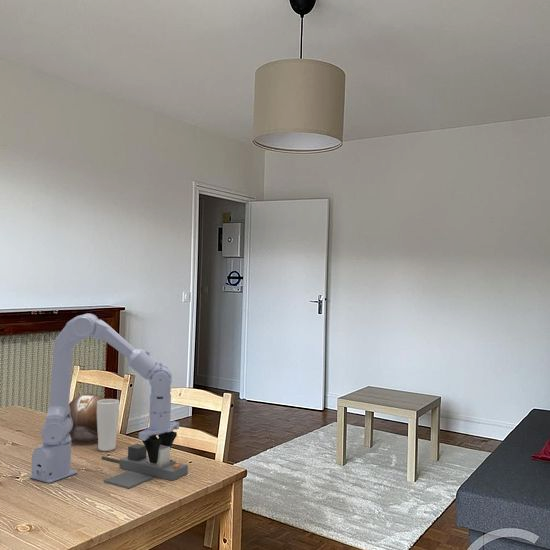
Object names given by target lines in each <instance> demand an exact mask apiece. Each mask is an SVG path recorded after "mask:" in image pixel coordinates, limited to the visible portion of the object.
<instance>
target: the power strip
mask: <svg viewBox="0 0 550 550" xmlns="http://www.w3.org/2000/svg"><path fill="white" fill-rule="evenodd" d="M101 459H102V460H105V461H108V462H113V463H116V464H118V465H119V466H118V467H119V469H122V470H126V471H132V472H136V473H140V474H144V475H148V476H152V477H153V478H154V477H155V478H158V479H163V480H168V481H172V482H173V481H175V480H177V479H180V478H182V477H184V476H185V475H188V471H189V468H188V467H189V466H188V464H184V463H181V462H176V460H175V459H174V460H173V459H170V463H167V464H165V465H162V466H157V465H153V464H149V463H148V455H147V449H146V447H145V445H144V444H141V443H135V444H131V445H130V446H128V447H127V456H125V457H122V458H120V459H118V458H114V457H109V456H104V455H102V456H101Z"/></svg>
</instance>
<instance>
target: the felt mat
mask: <svg viewBox="0 0 550 550" xmlns="http://www.w3.org/2000/svg"><path fill="white" fill-rule="evenodd" d="M153 479H154V476H150V475H146V474H142V473H138V472H134V471H130V470H126V471H124V472H121V473H119V474H116V475H114V476H111V477H108V478H105V479H103V483H106V484H110V485H114V486H118V487H121V488H125V489H129V490H130V489H132V488H134V487H136V486H139V485H141V484H143V483H145V482H148V481H150V480H153Z"/></svg>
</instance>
